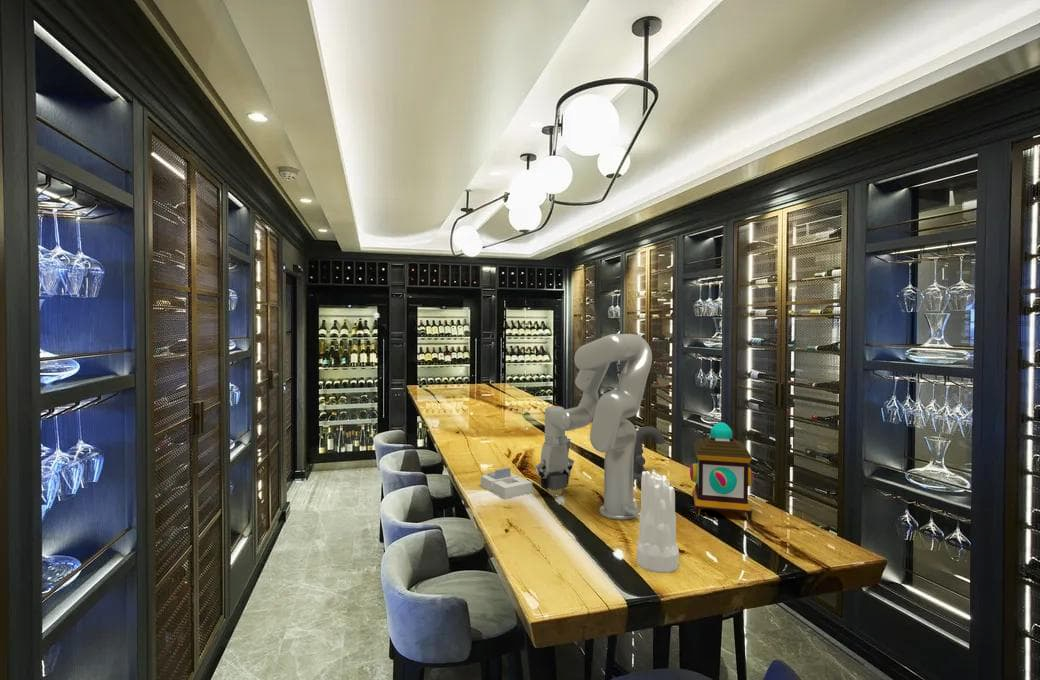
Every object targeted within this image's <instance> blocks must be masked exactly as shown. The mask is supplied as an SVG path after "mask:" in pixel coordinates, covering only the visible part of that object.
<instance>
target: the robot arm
mask: <svg viewBox="0 0 1040 680" xmlns="http://www.w3.org/2000/svg"><path fill="white" fill-rule="evenodd" d="M652 353H653V352H652V349H651V347H650V345H649V343H648V342H647V340H646V339H644V337H642V336H639V334H638V335H637V334H635V333H622V334H619V333H618V334H609V335H605V336H603V337H601V338H597V339H595V340H592V341H591V342H588V343H584V345H581V346H580V347H578V348H577V350H576V351H575V354H574V364H575V366H576V368H577V369H579V371H578V373H577V376H576V377H575V381H574V383H575V386H576V387H577V388H578V389H579V390H580V391H581V392H582V396H581V400H580V402H579V403H578V406H576V407H570V408H566V409H565V408H564V407H562V406H560V405H559V406H558V405H551V406H547V407H546V408H545V409H544V442H545V444H544V443H543V444H542V447H541V452H540V453H541V454H540V462H539V463H538V464H537V465H536V466H534V469H535V471H536V474H537V475H538V476H539V478H540V487H541V488H542V489H543V490H548V479H547V478H546V477H547V476H548V474H549V473H551V472H556V471H561V470H563V472H562V473H563V474H566V475H567V486H568V485H569V481H570V480H569V479H570V476H569V474H570V475H571V470H572V469H573V465H574V463H575V460H574V459H571V458H570V457H569V453H568V450H567V445H566V443H565V439H567V438H568V436H567V435H566V432H568V431H574V430H577V429H581V428H585V427H587V426H589V424H591V426H590V432H589V441H590V444H591V446H592V448H593V449H594V450H595V451H597V452H599V453H603V454H604V463H603V464H604V466H603V469H604V470H603V471H604V472H603V476H604V477H603V478H604V479H603V487H604V489H603V494H604V495H603V502H604V503H603V505H601V506H600V507H599V511H598V512H599V514H600V515H601V516H604V517H605V518H607V519H611V520H621V521H623V520H624V521H625V520H632V519H635V518H636V517H638V516H639V514H640V512H641V508H638V507H636V502H635V501H634V479H633V460H634V448H635V443H636V431H637V430H636V427H635V425H634V424H633V423H632V422H631V421H630V420H629V418H632V417H634V416H636V415H637V414H638V412H639V411H640V407H641V404H642V400H643V398H644V397H643V396H644V392H645V389H646V383H647V382H648V381H647V380H648V377H649V373H650V370H651V367H652V362H653V354H652ZM619 361H620V362H621V361H626V363H625V365H624V367H623V369H622V371H621V373H620V376H619V379H618V380H619V381H618V384H617V386H616V388H615V390H609V391H606V392H605V393H603V394H602V395H601V396H600V397H599V392H598V391H599V388H600V386H601V384H602V382H603V380H604V377H605V375H606V374H607V372H608V369H609V367H610V366H611V365H610V364H611V363H613V362H619ZM591 422H592V423H591ZM544 473H545V474H544Z"/></svg>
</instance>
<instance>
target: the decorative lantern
mask: <svg viewBox="0 0 1040 680" xmlns="http://www.w3.org/2000/svg"><path fill="white" fill-rule="evenodd" d="M693 447H694V452H695V456H696V462H695V463H692V464H691V465H690V468H689V476H690V477H689V478H690V480H691V482H692V483H695V484H694V485H695V486H694V487H693V489H692V492H691V493H692V499H693V505H694V514H695V516H696V517H699V516H700V513H701V510H702V509H703V510H712V511H713V510H715V511H725V512H726V511H727V512H737V513H744V514H745V515H746V520H747V521H748V522H750V521H752V517H753V510H752V507H751V505H750V503H749V498H748V497H749V488H750V486H752V484H753V483H754V474H753V470H752V468H751V467H749V464H750V463H751V461H752V455H751V454H750V452H749V450H748V449H747V447H746V446H745V445H744V443H742V442H741V441H740V440H737V439H735V438H734V437H733V430H732V429H731V427H730V426H729V425H728V424H727V423H725V422H717V423H715V424H714V425H713V426H712V427H711V428H710V433H709V435H707V436H706V437H704V438H698V439H697V440H695V441H694V443H693Z"/></svg>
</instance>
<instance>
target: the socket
mask: <svg viewBox="0 0 1040 680" xmlns="http://www.w3.org/2000/svg"><path fill="white" fill-rule="evenodd" d="M510 474H511V476H510V477H505V478H500V479H495V478H493V477H490V476H488V475H487V474H484V475H480V487H481V488H483V489H485V490H487V491H489V492H491V493H493V494H494V495H497V496H499V497H501V498H503V499H504V500H507V499H511V498H515V497H516V496H517V497H520V495H521V496H524V494H526V495H529V493H530V494H533V481H531V480H528V479H525V478H523V477H521V476H519V475H517V474H514V473H512V472H510Z"/></svg>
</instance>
